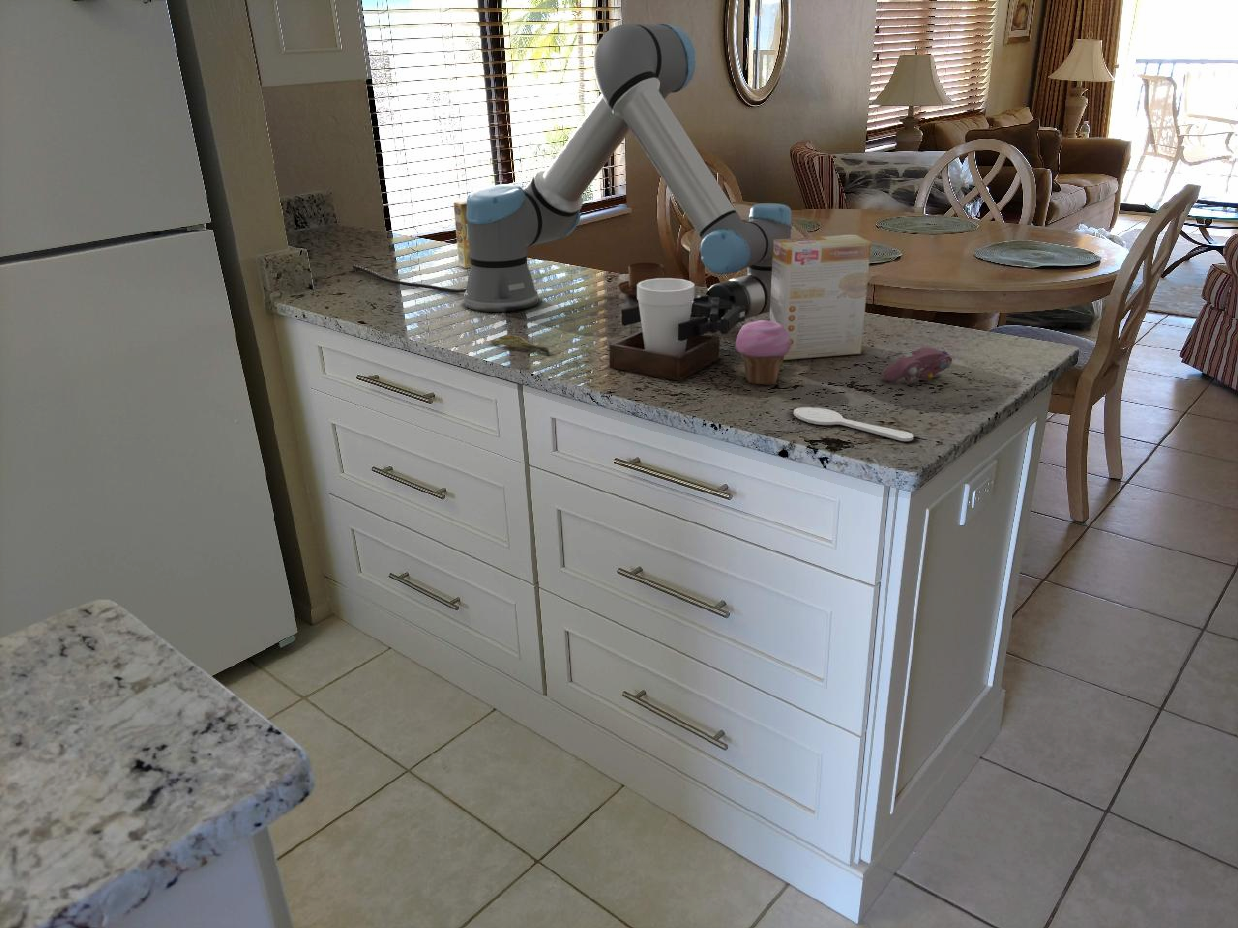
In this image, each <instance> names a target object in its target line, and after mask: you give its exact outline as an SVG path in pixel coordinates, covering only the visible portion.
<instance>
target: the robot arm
mask: <svg viewBox="0 0 1238 928" xmlns="http://www.w3.org/2000/svg"><path fill="white" fill-rule="evenodd" d="M695 50H696V49H695V47H694V43H693V41H692V39H691V37H689V35H688V34H687V33H686V32H685V30H683V29H682V28H681V27H678V26H676V25H674V24H673V25H672V24H669V23H665V22H660V23H659V22H658V23H644V24H643V23H622V24H619V25H618V24H617V25H616V26H614V27H611V28H610V29H609V30H608V31H606V32H605V33H604V34H603V35H602V37H601V38H600V39H599V41H598V43H597V45H596V47H595V51H594V55H593V63H592V64H593V65H592V66H593V67H592V68H593V73H594V78H595V82H596V85H597V87H598V90H599V93H600V95H599V96H598V98H597V99H596V100H595V102H594V103H593V105H592V106H591V108H590V109H589V111H588V112H587V113H586V115H585V116H584V117H583V118H582V121H581V122H580V123H579V124H578V126H577V128H576V129H575V130H574V131H573V133H572V135H571V136H570V137H569V139H567V141H566V143H565V144H564V146H563V147H562V148H561V150H560V151H559V153H558V154H557V156H556V157H555V158H554V159H553V162H552V163H551V164H550V166H549V167H547V168H546V167H544V168H540V169H538V170H537V171H536V172H535V174H534V175H533V177H532V178H531V179H530V180H529V182H528V183H527V185H526V186H525V187H524V188H523V187H522V186H520V185H517V184H513V183H501V184H496V185H487V186H483V187H480V188H478V189H475V190H473V191H472V192H470V194H469V195H468V196H467V199H466V201H467V213H466V218H467V224H468V236H469V248H470V260H471V267H470V270H469V274H468V279H467V284H466V288H449V287H443V286H438V285H431V284H424V283H416V282H409V281H408V282H407V281H402V280H398V279H393V278H390V277H387V276H384V275H381V274H379V273H377V272H375V271H372V270H370V269H368V268H365V267H362V266H359V265H357V264H353V265H352V269H355V270H358V271H361V272H364V273H366V274H369V275H371V276H373V277H375V278H377V279H379V280H382V281H384V282H388V283H390V284H395V285H399V286H405V287H412V288H420V289H429V290H435V291H438V292H445V293H451V294H452V293H453V294H462V293H464V295H463V297H464V299H463V300H464V306H465V307H466V308H468V309H470V310H473V311H479V312H488V313H501V312H502V313H504V312H506V313H507V312H514V311H515V312H516V311H521V310H525V309H529V308H531V307H534V306H536V305H537V304H538V303H539V294H538V293H539V292H538V291H537V288H536V287H535V284H534V281H533V277H532V274H531V272H530V269H529V265H528V249H527V248H528V247H532V246H536V245H540V244H544V243H548V242H555V241H558V240H559V241H560V240H561V239H563V238H565V237H567V236H569V235H570V234H572V233H573V232H574V231H575V229H576V228H577V227H578V225H579V222H580V220H581V216H582V214H581V210H582V207H583V205H584V198H583V195H584V193H585V192H586V190H587V189H588V188H589V186H590V185H591V183H592V182H593V181H594V179H595V178H596V177H597V176H598V174H599V173H600V172H601V170H602V169H603V168H604V166H605V165H606V164H607V163H608V161H609V160H610V158H612V156H613V154H614V153H615V152H616V151H617V149H618V148H619V147H620V146H621V144H622V142H623V141H624V140H625V139H626V137H627V136H628V135H629V134H630V132H631V133H632V134H633V135H634V137H635V139H636V140H637V142H638V144H639V145H640V146H641V148H642V150H643V151H644V153H645V154H646V156H647V157H648V159H649V160H650V161H651V163H652V166H653V167H654V168H655V170H656V171H657V173H658V174H659V176H660V177H661V179H662V181H663V182H664V183H665V185H666V187H667V188H668V190H669V192H670V193H671V194H672V196H673V197H674V199H675V200H676V202H677V203H678V205H679V207H680V208H681V211H683V214H685V217H686V218H687V219H688V220H689V222H690V224H691V225H692V227H693V228H694V230H695V231H696V233H697V234H698V236H699V238H700V239H701V243H700V248H699V251H700V257H701V262H702V263H703V265H704V266H705V268H706V269H707V270H708V271H710V272H711V273H713V274H716V275H727V274H733V273H734V274H735V273H737V272H740V271H743V270H744V269H747V273H746V275H741V276H739V277H733V278H731V279H729V280H725V281H720V282H717V283H714V284H712V285H710V287H709V288H708V289H707V291H706V292H705V294H698V295H696V296H695V295H694V300H693V303H692V309H691V316H690V318H693V319H690V320H689V321H686V322H683V323H679V324H678V340H679V341H683V340H686V339H690V338H693V337H696V336H699V335H702V334H706V335H707V334H708V333H711V334H715V333H717V332H718V331H719V333H720V335H727V334H729V333H730V332H731V331H732V330H733V329H734V328H735V327H736V326H737V325H738V324H739V323H741V322H742V323H743V322H746V320H747V319H750V318H753V317H756V316H760V315H763V314H767V313H770V299H771V279H772V259H773V241H774V240H776V239H792V229H793V226H792V210H791V209H792V208H790V206H788V205H787V204H784V203H775V202H774V203H773V202H772V203H771V202H764V203H755V204H754V205H752V206H751V207H750V210H749V215H748V221H743V219H742V217H741V216H740V214H739V213H738V211H736V208H735V207H734V206H733V204H732V203H731V201H730V200H729V198H728V197H727V195H726V194H725V192H724V190H723V188H722V187H721V186H720V184H719V183H718V181H717V179H716V178H715V176H714V175H713V173H712V172H711V170H710V169H709V167H708V166H707V164H706V163H705V160H704V159H703V157H702V156H701V154H700V152H698V150H697V148H696V147H695V145H694V143H693V142H692V140H691V139H690V137H689V136H688V135H687V132H686V131H685V130H684V127H683V126H682V125H681V123H680V121H679V120H678V118H677V117H676V116H675V114H674V113H673V111H672V109H671V107H670V106H669V104H668V103H667V101H666V99H667V97H668V96H669V95H670V94H671V93H673V94H674V93H678V92H680V91H682V90H683V89H684V88H686V87H687V86H688V85H689V84H690V83H691V81H692V79H693V77H694V74H695V72H696V65H697V60H696V51H695ZM355 265H356V266H355ZM358 266H359V267H358ZM361 267H362V268H361ZM364 268H365V269H364ZM367 269H368V270H367ZM369 270H370V271H369ZM371 271H372V272H371ZM373 272H374V273H373ZM375 273H376V274H375ZM377 274H378V275H377ZM380 275H381V276H380ZM620 310H621V312H620V313H621V315H620V317H621V326H623V327H627V326H629V325H633V324H636V323H641V317H640V309H639V304H637V305H633V306H630V307H626V308H621V309H620Z"/></svg>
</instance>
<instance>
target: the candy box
mask: <svg viewBox="0 0 1238 928" xmlns="http://www.w3.org/2000/svg"><path fill="white" fill-rule="evenodd" d="M453 212H454V223H455V236H456V247H457V258H458V266H459V267H461V268H463V269H469V268H471V260H470V248H469V236H468V224H467V218H466V213H467V200H466V201H456V202H453Z"/></svg>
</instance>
